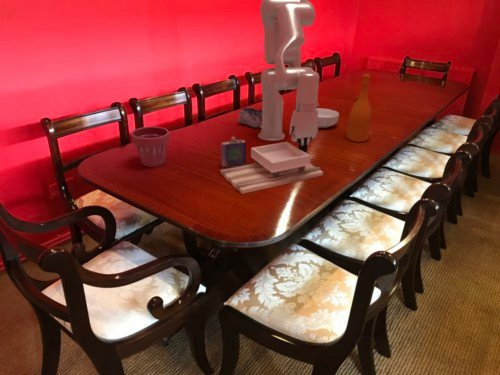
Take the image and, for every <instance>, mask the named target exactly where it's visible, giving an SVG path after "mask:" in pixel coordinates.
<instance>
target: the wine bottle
mask: <svg viewBox="0 0 500 375" xmlns="http://www.w3.org/2000/svg"><path fill="white" fill-rule="evenodd" d="M370 80H371V75H370V74H369V73H364V74H362V79H361V89H360V93H359V94H358V95H357V96H355V99H354V101H353V106H352V108H351V109H350V112H349V115H348V122H347V123H348V124H347V133H346V138H347V139H348V141H349V140H350V141H352V142H354V143H357V142H358V143H362V142H363V143H364V142H366V141H367V140H368V138H369V134H370V130H371V129H370V128H371V125H372V124H371V121H372V108H371V105H370V104H371V103H370V101H369V96H368V95H369V94H368V91H369V85H370Z"/></svg>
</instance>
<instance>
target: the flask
mask: <svg viewBox="0 0 500 375" xmlns="http://www.w3.org/2000/svg"><path fill="white" fill-rule="evenodd" d="M230 138H231V140H230V141H224V142H221V144H220V145H221V148H220V149H221V167H222V168H229V167H230V168H231V167H239V166H244V165H247V141H245V140H244V139H236V137H235V136H231V137H230Z"/></svg>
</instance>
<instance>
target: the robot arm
mask: <svg viewBox="0 0 500 375" xmlns="http://www.w3.org/2000/svg"><path fill="white" fill-rule="evenodd" d="M259 9H260V11H259V12H260V13H259V14H260V19H261V22H262V27H263V31H264V32H263V35H264V37H263V38H264V40H263V42H264V43H263V44H264V45H263V46H264V47H263V49H264V51H263V54H264V61H265V63H266V64H268V65H273V66H274V67H269V68H266V69H264V70H263V71H262V72H261V75H260V83H261V92H262V94H261V95H262V97H261V98H262V99H261V102H262V104H261V105H262V106H261V110H262V125H261V126H260V128H259V129H261V131H260V132H259V133H258V134H257V135H258V138H259V139H260V140H263V141H266V142H267V141H268V142H277V141H282V140H284V139H285V136H286V134H285V133H284V132H283V117H284V116H283V112H284V98H283V96H282V95H281V93H280V92H279V91H282V90H283V91H284V90H296V98H295V109H294V110H292V111H293V112H292V115H291V119H290V124H289V136H291V137H290V141H292V142H296V143H297V144H298V147H297V148H299V149H300V150H302V151H304V152H305V153H307V154H308V146H309V145H310V142H311V140H313V139H316V137H317V134H318V131H319V128H318V111H317V110H316V109H317V108H318V106H320V103H319V101H318V96H319V86H320V85H319V84H320V75H319V73H318V71H317V72H316V71H314V69H313V68H312V67H308V66H304V67H303V66H302V52H301V50H302V49H301V47H302V46H303V45H304V44H305V33H304V28H303V27H309V26H312V25H313V24H314V22H315V19H316V11H315V8H314V4H313V3H311V1H309V0H261V3H260V8H259ZM285 65H287V66H288V67H286V66H285Z"/></svg>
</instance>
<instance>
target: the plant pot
mask: <svg viewBox="0 0 500 375" xmlns="http://www.w3.org/2000/svg"><path fill="white" fill-rule="evenodd" d="M130 133H131V134H130V135H131V136H130V137H131V143H132V144H133V146H135V149H136V152H137V155H138V157H139V160H140V164H141V165H142V166H145V167H149V168H154V167H160V166H162V165H164V163H165V162H166V155H167V150H168V149H167V148H168V143H169V142H170V132H169V129H167V128H165V127H160V126H143V127H139V128H136V129H134V130H133V131H131V132H130Z"/></svg>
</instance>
